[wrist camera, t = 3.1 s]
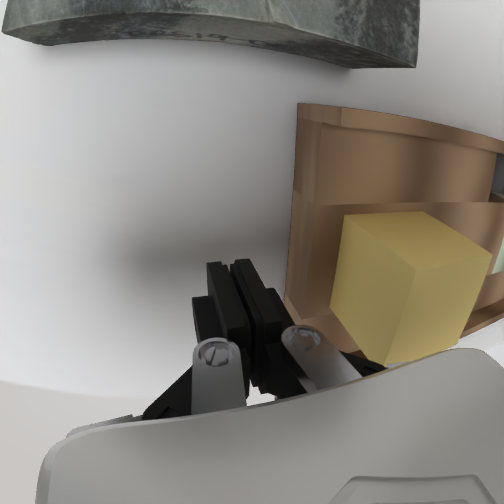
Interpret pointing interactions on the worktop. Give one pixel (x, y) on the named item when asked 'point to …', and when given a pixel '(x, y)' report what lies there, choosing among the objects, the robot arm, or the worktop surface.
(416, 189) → the box
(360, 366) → the robot arm
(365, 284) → the block
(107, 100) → the worktop surface
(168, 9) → the stone block
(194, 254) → the worktop surface
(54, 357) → the worktop surface
